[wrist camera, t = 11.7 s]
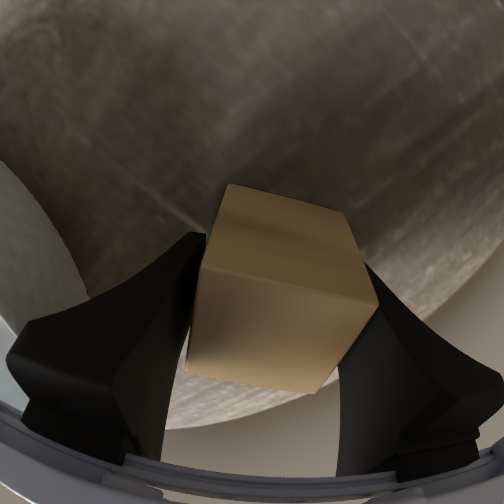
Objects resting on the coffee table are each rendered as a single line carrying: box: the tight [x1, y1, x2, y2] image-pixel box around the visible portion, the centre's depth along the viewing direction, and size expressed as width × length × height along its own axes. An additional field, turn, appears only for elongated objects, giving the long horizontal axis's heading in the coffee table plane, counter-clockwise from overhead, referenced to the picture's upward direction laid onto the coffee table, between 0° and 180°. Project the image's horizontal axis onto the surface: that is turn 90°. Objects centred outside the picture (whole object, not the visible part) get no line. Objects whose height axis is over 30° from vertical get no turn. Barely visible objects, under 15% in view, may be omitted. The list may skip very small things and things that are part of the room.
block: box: [185, 183, 379, 394], centre depth 10 cm, size 4×4×5 cm
